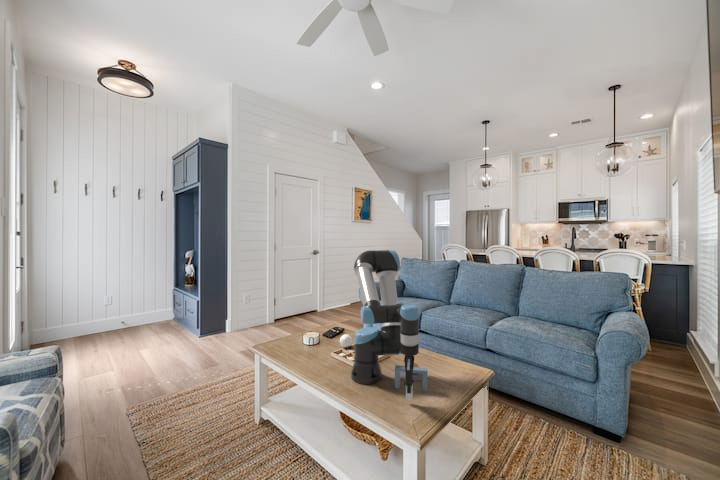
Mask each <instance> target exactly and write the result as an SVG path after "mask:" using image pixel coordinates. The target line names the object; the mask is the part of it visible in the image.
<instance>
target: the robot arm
mask: <svg viewBox="0 0 720 480" xmlns="http://www.w3.org/2000/svg"><path fill="white" fill-rule="evenodd" d="M353 266H354V267H353V270H354V274H355V275H356V276H357V280H358V284H359V289H360V290H359V291H360V294H361V298H362V303H363V306H361V307H360V321H361V322H362V324H366V325H374V324H381V326H380V330H379V329H378V327H374V326H373V327H372V326H365V327H361V328H360V329H359V328H358V330H356V332H355V334H354V341H353V343H354V362H353V364H352V367H351V371H350V378H351V380H352V381H354V382H355V383H357V384H361V385H373V384H376V383H378V382H380V381H381V380H382V379H383V371H382V369H381V368H382V367H381V365H380V363H379V356H395V355H396V356H398V355H404V359H403V360H404V361H403V362H404V366H405V373H406V379H405V382H403V383H404V386H405V400H406V401H413V395H414V394H413V393H414V391H413V390H414V389H413V388H414V386H413V385H414V384H413V383H415V380H412V379H413V366H414V362H415V356H417V355H418V354H419V349H420V346H419V342H420V341H419V340H420V338H421V336H420V335H419V333H420V331H419V329H420V328H419V327H420V325H419V324H420V311H419V307H418V306H417V305H415V304H406V303H402V302H399V299H398V292H397V283H396V276H397V275H398V272H399V271H400V270H401V269H400V268H401V261H400V257H399V254H398V253H397V252H396V251H395V250H391V249H390V250H389V249H386V250H385V249H384V250H383V249H382V250H365V251H363V252H362V253H360V254H359V255H358V256H357V258H356V259H355V262H354V265H353ZM373 273H375V276H376V277H377V278H378V280H379V291H380V292H379V293H380V298H379V294H378V291H377V287H376V282H375V279H374V276H373ZM380 300H381V301H380Z"/></svg>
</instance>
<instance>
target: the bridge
mask: <svg viewBox="0 0 720 480" xmlns="http://www.w3.org/2000/svg"><path fill="white" fill-rule="evenodd" d="M428 370H429V369H428V367H413V372H414V373H423V381H422V392H428ZM400 371H404V372H405V365H397V364H395V365H394V388H395V389H400V386H401V379H400Z"/></svg>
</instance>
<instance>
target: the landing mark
mask: <svg viewBox="0 0 720 480" xmlns="http://www.w3.org/2000/svg"><path fill="white" fill-rule="evenodd" d="M400 380H406V373H405V372H404V371H400ZM412 380H413V381H414V382H415V381H417V382H423V373H416V374H413V379H412Z"/></svg>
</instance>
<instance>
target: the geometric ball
mask: <svg viewBox="0 0 720 480" xmlns="http://www.w3.org/2000/svg"><path fill="white" fill-rule="evenodd" d="M339 344H340V346H341V347H343V348H346V347H347V348H349V347H351V346H352V344H353V338H352V336H351V335H350V334H347V333H346V334H343V335H341V336H340V338H339ZM350 345H351V346H350ZM348 346H349V347H348Z"/></svg>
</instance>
